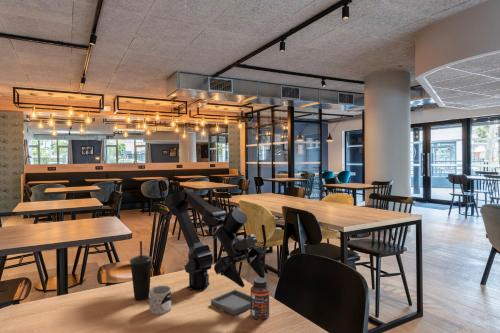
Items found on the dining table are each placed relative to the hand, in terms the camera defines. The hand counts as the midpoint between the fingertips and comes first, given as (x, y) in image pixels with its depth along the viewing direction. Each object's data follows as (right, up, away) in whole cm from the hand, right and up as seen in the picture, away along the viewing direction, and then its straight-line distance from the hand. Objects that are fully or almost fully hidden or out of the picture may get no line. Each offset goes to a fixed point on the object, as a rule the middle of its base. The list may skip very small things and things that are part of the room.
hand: (253, 282), depth 100 cm
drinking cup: (-39, -10, +11) cm, 42 cm away
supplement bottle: (+2, -10, -1) cm, 10 cm away
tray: (-6, -10, +6) cm, 13 cm away
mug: (-30, -10, +4) cm, 32 cm away
